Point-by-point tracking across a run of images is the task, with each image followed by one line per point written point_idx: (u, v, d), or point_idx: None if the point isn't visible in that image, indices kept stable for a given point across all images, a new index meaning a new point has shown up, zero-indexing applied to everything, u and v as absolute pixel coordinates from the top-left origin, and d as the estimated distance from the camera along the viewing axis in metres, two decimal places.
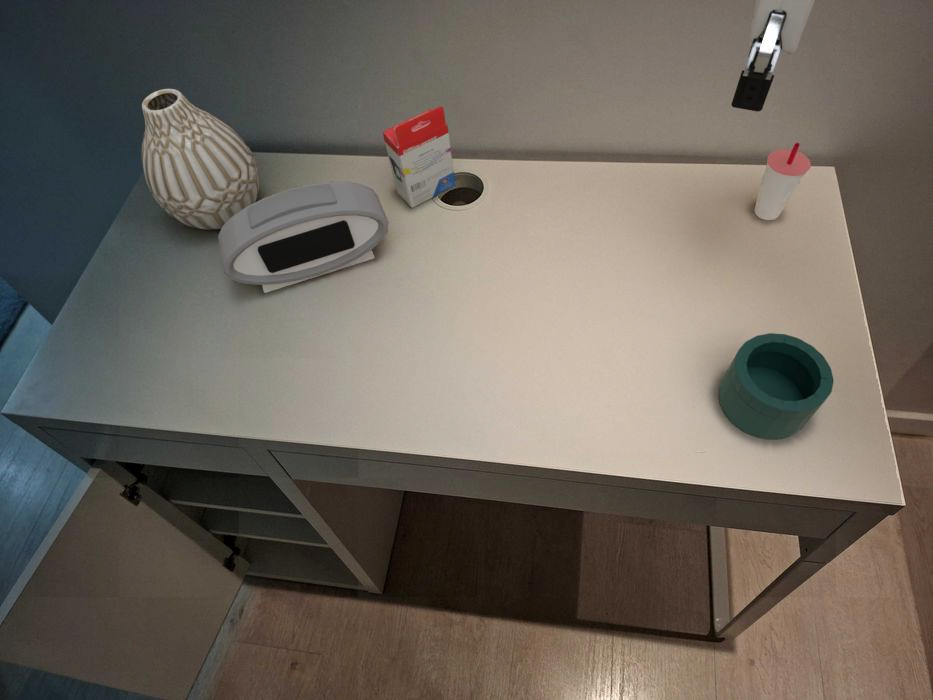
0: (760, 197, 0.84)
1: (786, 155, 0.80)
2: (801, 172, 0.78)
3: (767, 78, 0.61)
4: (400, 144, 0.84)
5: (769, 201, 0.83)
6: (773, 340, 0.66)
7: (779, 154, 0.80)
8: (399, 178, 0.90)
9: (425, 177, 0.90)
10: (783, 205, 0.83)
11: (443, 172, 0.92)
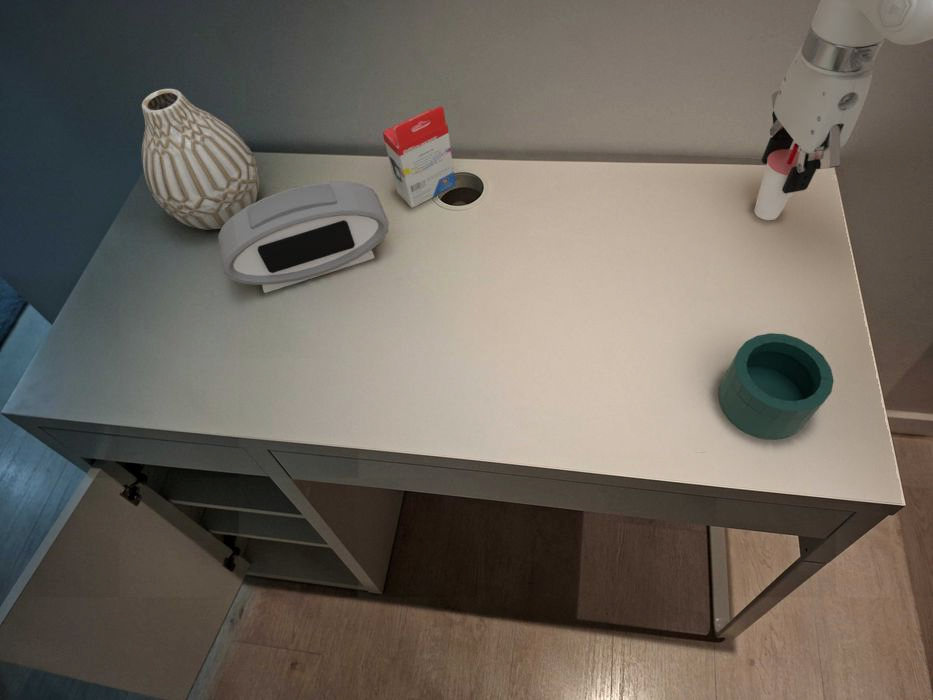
0: (760, 197, 0.84)
1: (786, 155, 0.80)
2: None
3: None
4: (400, 144, 0.83)
5: (769, 201, 0.83)
6: (773, 340, 0.66)
7: (779, 154, 0.80)
8: (399, 178, 0.90)
9: (425, 177, 0.90)
10: (783, 205, 0.83)
11: (443, 172, 0.92)
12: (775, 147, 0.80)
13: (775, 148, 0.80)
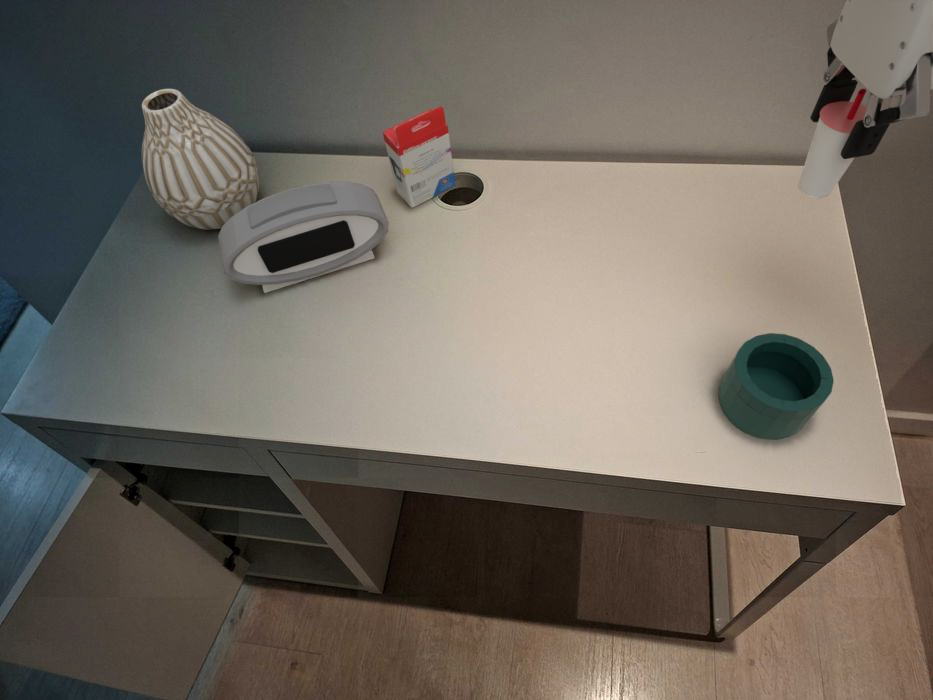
0: (808, 167, 0.64)
1: (845, 108, 0.60)
2: None
3: (893, 122, 0.55)
4: (401, 144, 0.83)
5: (820, 171, 0.63)
6: (773, 340, 0.66)
7: (835, 107, 0.60)
8: (399, 178, 0.90)
9: (425, 177, 0.90)
10: (839, 177, 0.63)
11: (443, 172, 0.92)
12: (830, 98, 0.60)
13: (830, 100, 0.60)
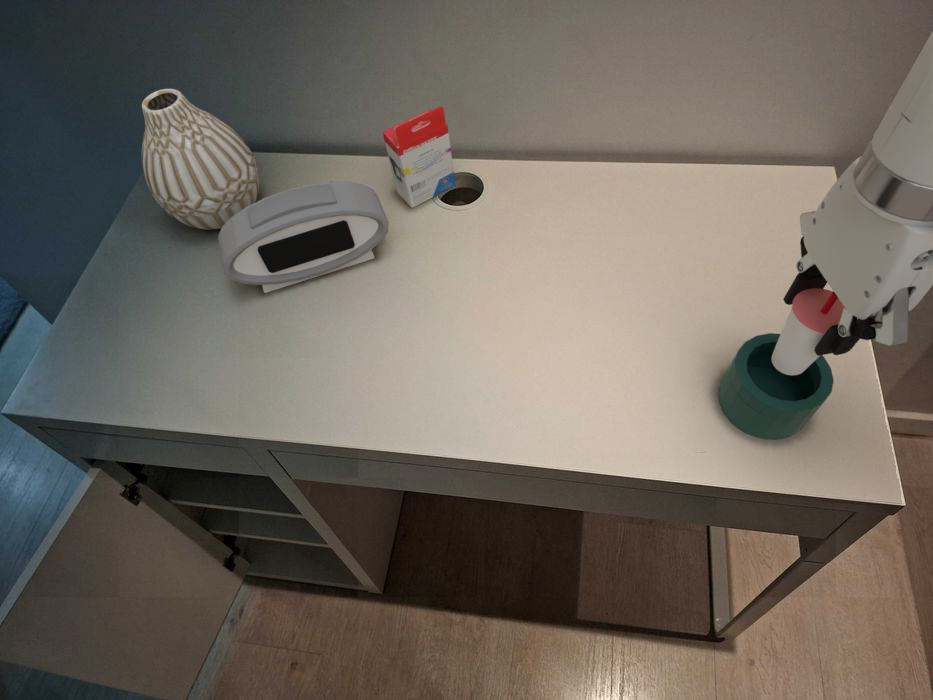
0: (781, 348, 0.60)
1: (819, 298, 0.56)
2: None
3: None
4: (400, 144, 0.83)
5: (794, 356, 0.59)
6: (773, 340, 0.66)
7: (809, 296, 0.56)
8: (399, 178, 0.90)
9: (425, 177, 0.90)
10: (813, 361, 0.59)
11: (443, 172, 0.92)
12: (804, 287, 0.56)
13: (804, 288, 0.57)
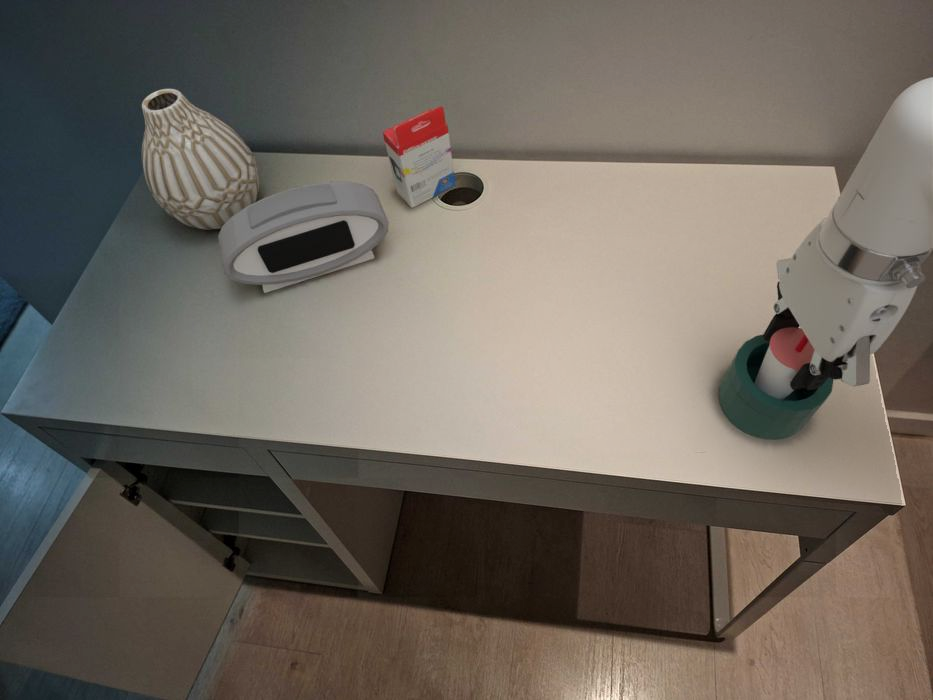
0: (760, 380, 0.65)
1: (794, 337, 0.61)
2: None
3: None
4: (400, 144, 0.83)
5: (772, 388, 0.64)
6: None
7: (785, 335, 0.62)
8: (399, 178, 0.90)
9: (425, 177, 0.90)
10: (790, 392, 0.65)
11: (443, 172, 0.92)
12: (780, 326, 0.62)
13: (780, 327, 0.62)
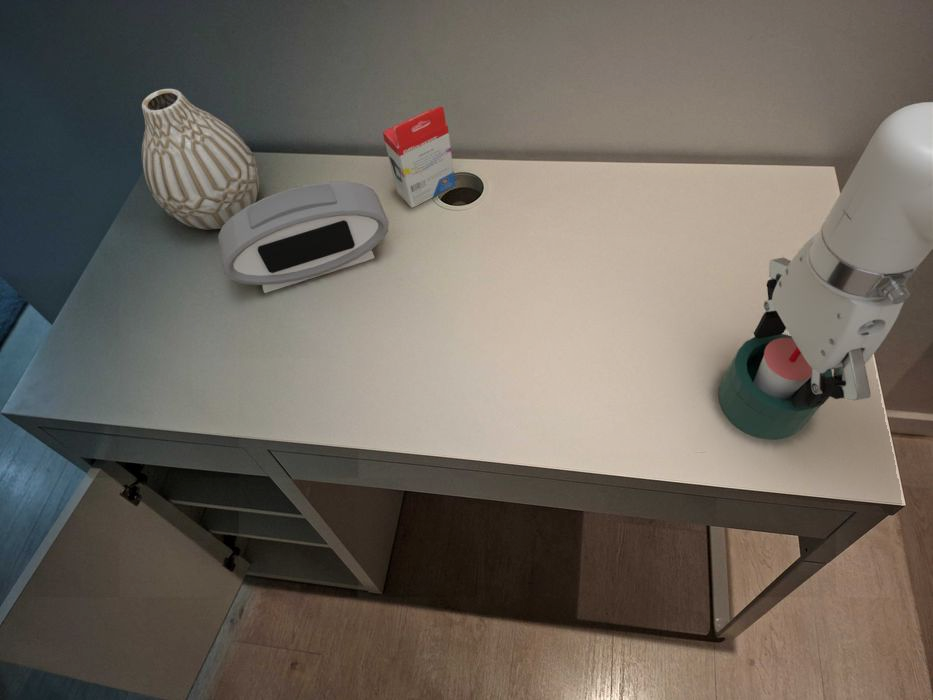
0: None
1: (788, 347, 0.63)
2: (807, 375, 0.61)
3: None
4: (401, 144, 0.83)
5: None
6: None
7: (779, 345, 0.63)
8: (399, 178, 0.90)
9: (425, 177, 0.90)
10: None
11: (443, 172, 0.92)
12: (770, 323, 0.63)
13: (770, 324, 0.64)
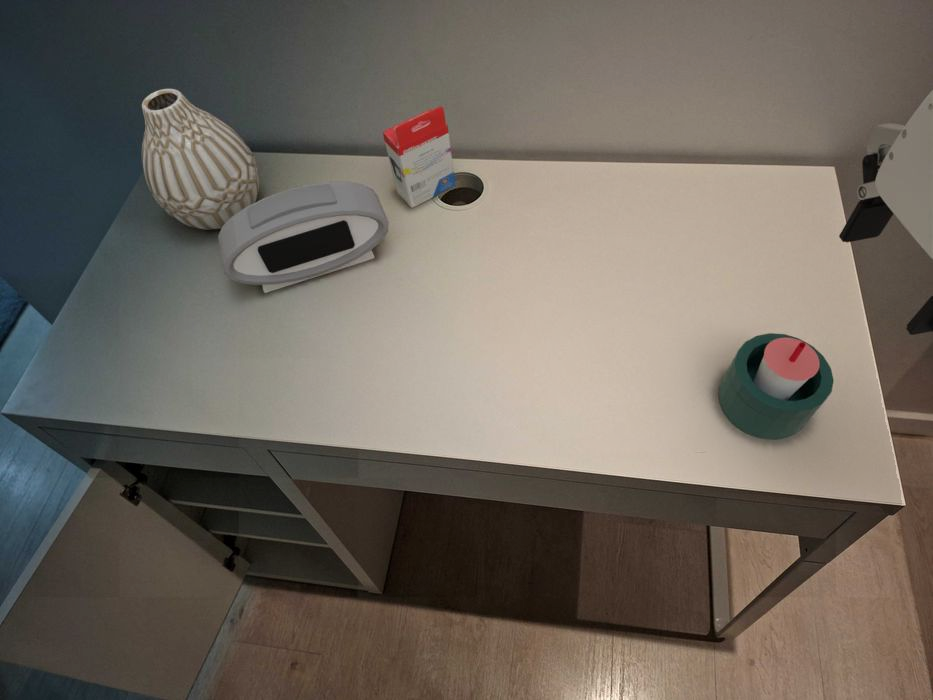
0: None
1: (788, 347, 0.63)
2: (807, 375, 0.61)
3: None
4: (401, 144, 0.83)
5: None
6: None
7: (779, 345, 0.63)
8: (399, 178, 0.90)
9: (425, 177, 0.90)
10: None
11: (443, 172, 0.92)
12: (866, 217, 0.47)
13: (866, 219, 0.47)
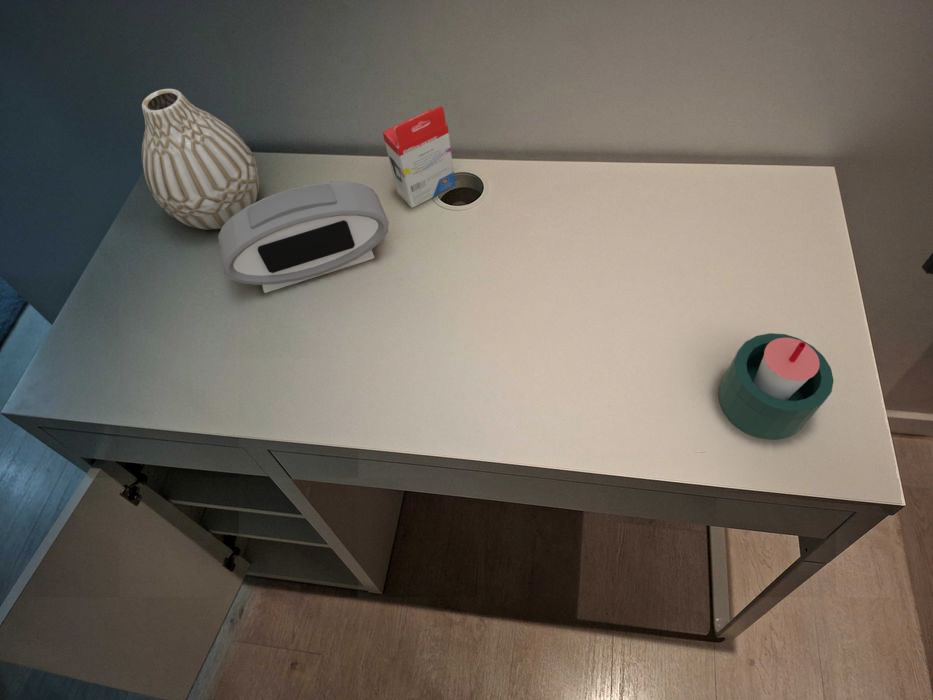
0: None
1: (788, 347, 0.63)
2: (807, 375, 0.61)
3: None
4: (401, 144, 0.84)
5: None
6: None
7: (779, 345, 0.63)
8: (399, 178, 0.90)
9: (425, 177, 0.90)
10: None
11: (443, 172, 0.92)
12: None
13: None
